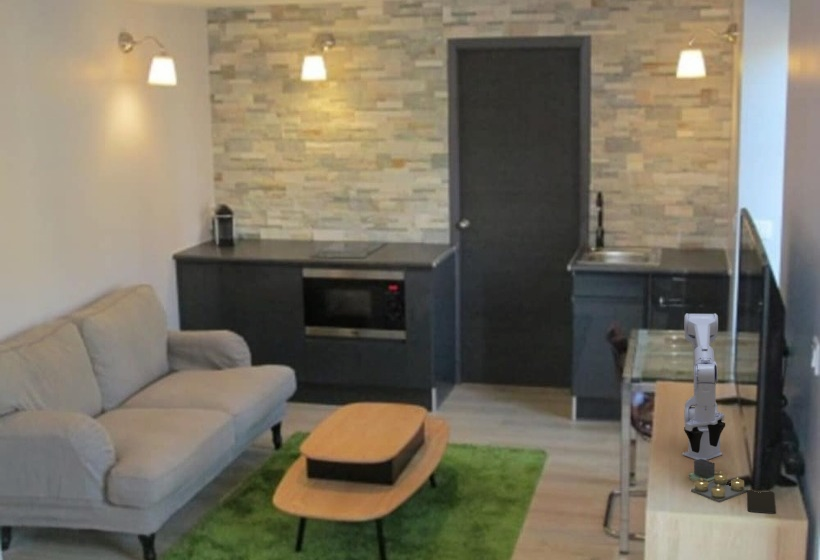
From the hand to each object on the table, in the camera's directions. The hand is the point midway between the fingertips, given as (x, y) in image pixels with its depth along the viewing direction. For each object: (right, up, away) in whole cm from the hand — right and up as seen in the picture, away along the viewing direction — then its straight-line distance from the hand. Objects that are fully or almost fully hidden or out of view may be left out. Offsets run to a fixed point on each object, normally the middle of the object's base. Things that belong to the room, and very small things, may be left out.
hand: (704, 448), depth 319 cm
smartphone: (+11, -13, -17) cm, 24 cm away
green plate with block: (0, -9, +2) cm, 9 cm away
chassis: (+2, -11, -9) cm, 14 cm away
